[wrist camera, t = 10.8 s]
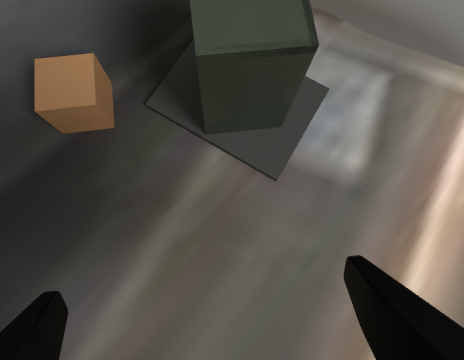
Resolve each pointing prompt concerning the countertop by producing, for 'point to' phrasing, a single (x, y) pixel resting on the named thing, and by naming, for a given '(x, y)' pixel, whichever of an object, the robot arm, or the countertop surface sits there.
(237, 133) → the mat
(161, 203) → the countertop surface
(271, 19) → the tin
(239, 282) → the countertop surface
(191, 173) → the countertop surface
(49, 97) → the block
